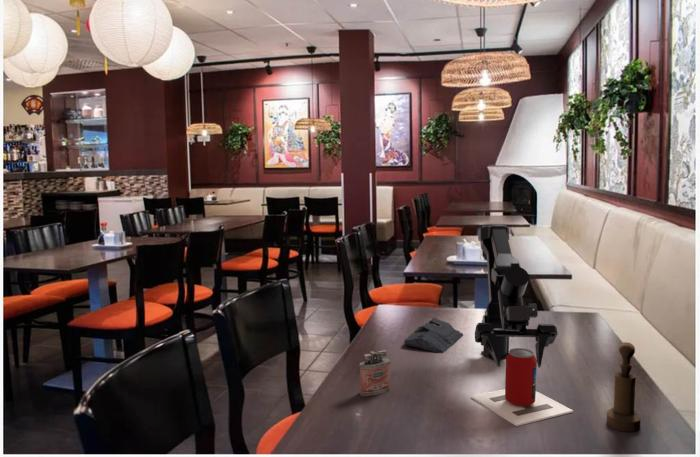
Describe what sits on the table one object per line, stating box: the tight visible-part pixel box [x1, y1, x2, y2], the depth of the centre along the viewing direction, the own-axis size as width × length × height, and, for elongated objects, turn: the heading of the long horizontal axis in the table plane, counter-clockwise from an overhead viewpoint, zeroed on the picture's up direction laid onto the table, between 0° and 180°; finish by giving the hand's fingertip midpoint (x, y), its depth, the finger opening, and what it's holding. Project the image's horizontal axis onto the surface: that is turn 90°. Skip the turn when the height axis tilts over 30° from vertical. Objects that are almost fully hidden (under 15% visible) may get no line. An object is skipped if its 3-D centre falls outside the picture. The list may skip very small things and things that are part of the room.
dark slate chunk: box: [404, 317, 464, 354], centre depth 179 cm, size 15×22×5 cm
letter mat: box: [470, 388, 574, 427], centre depth 132 cm, size 16×16×1 cm
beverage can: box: [504, 347, 538, 407], centre depth 131 cm, size 7×7×12 cm
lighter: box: [359, 349, 391, 397], centre depth 139 cm, size 8×3×10 cm, turn 118°
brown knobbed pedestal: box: [606, 341, 642, 433], centre depth 121 cm, size 7×6×18 cm
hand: (519, 366), depth 133 cm, fingers open, 9 cm apart
